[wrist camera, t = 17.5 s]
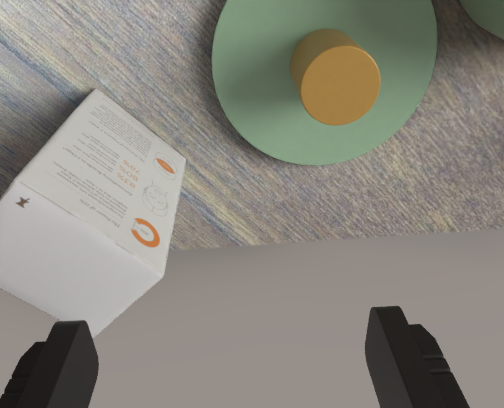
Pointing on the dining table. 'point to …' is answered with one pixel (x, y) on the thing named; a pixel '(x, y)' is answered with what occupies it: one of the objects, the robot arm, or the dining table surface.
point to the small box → (90, 216)
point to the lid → (322, 73)
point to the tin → (487, 14)
